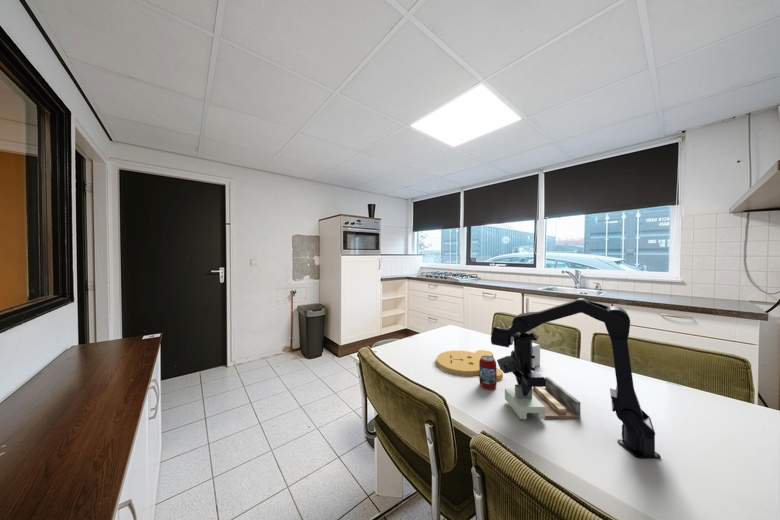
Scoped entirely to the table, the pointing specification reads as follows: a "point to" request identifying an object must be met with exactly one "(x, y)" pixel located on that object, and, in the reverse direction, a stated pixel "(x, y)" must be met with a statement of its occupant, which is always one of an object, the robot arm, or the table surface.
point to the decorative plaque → (463, 362)
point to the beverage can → (488, 372)
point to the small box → (536, 354)
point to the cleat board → (551, 411)
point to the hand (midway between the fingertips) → (523, 393)
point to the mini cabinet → (524, 402)
